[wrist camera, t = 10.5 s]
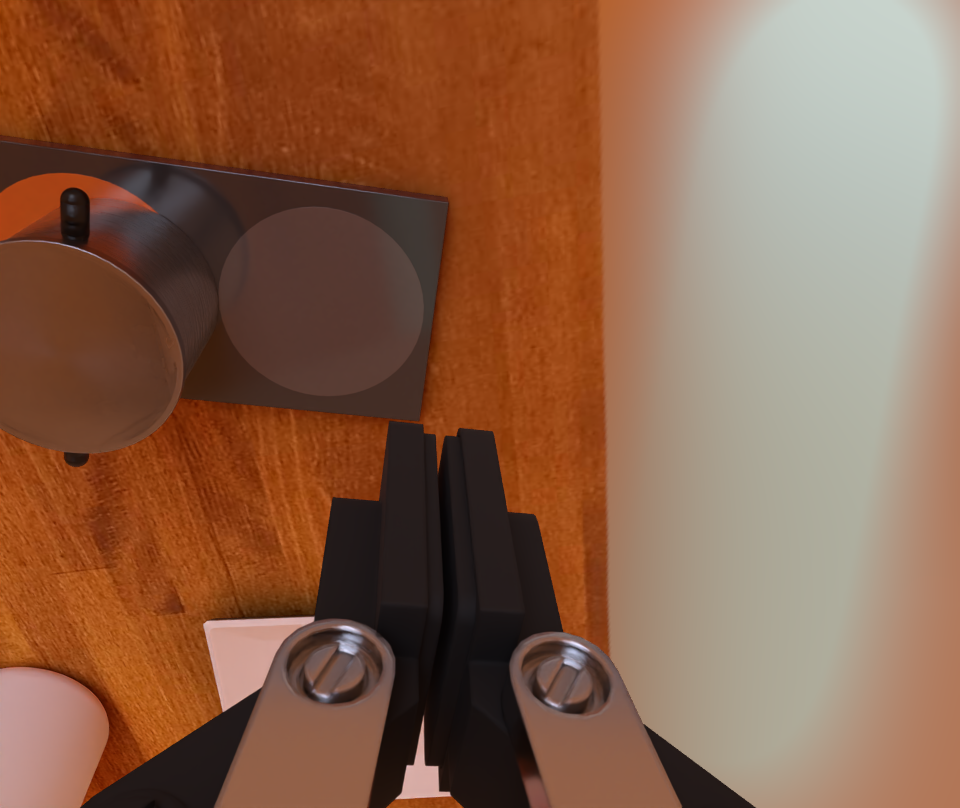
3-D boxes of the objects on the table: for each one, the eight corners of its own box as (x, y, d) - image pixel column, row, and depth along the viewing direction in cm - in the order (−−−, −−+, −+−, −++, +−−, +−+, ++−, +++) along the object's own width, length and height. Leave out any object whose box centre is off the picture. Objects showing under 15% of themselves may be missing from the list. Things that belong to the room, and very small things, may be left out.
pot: (9, 132, 32) (-87, 166, 26) (234, 183, 34) (193, 227, 28) (21, 389, 38) (-55, 466, 32) (212, 421, 40) (174, 500, 34)
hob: (-49, 128, 33) (-62, 131, 32) (448, 197, 36) (448, 202, 35) (-6, 370, 38) (-17, 379, 38) (419, 412, 41) (419, 422, 41)
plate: (249, 784, 56) (243, 810, 54) (209, 599, 47) (201, 624, 45) (496, 770, 57) (498, 796, 56) (504, 588, 48) (507, 612, 47)
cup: (-36, 749, 52) (-127, 902, 43) (-50, 648, 47) (-155, 798, 39) (115, 761, 54) (56, 911, 45) (115, 665, 49) (51, 812, 41)
